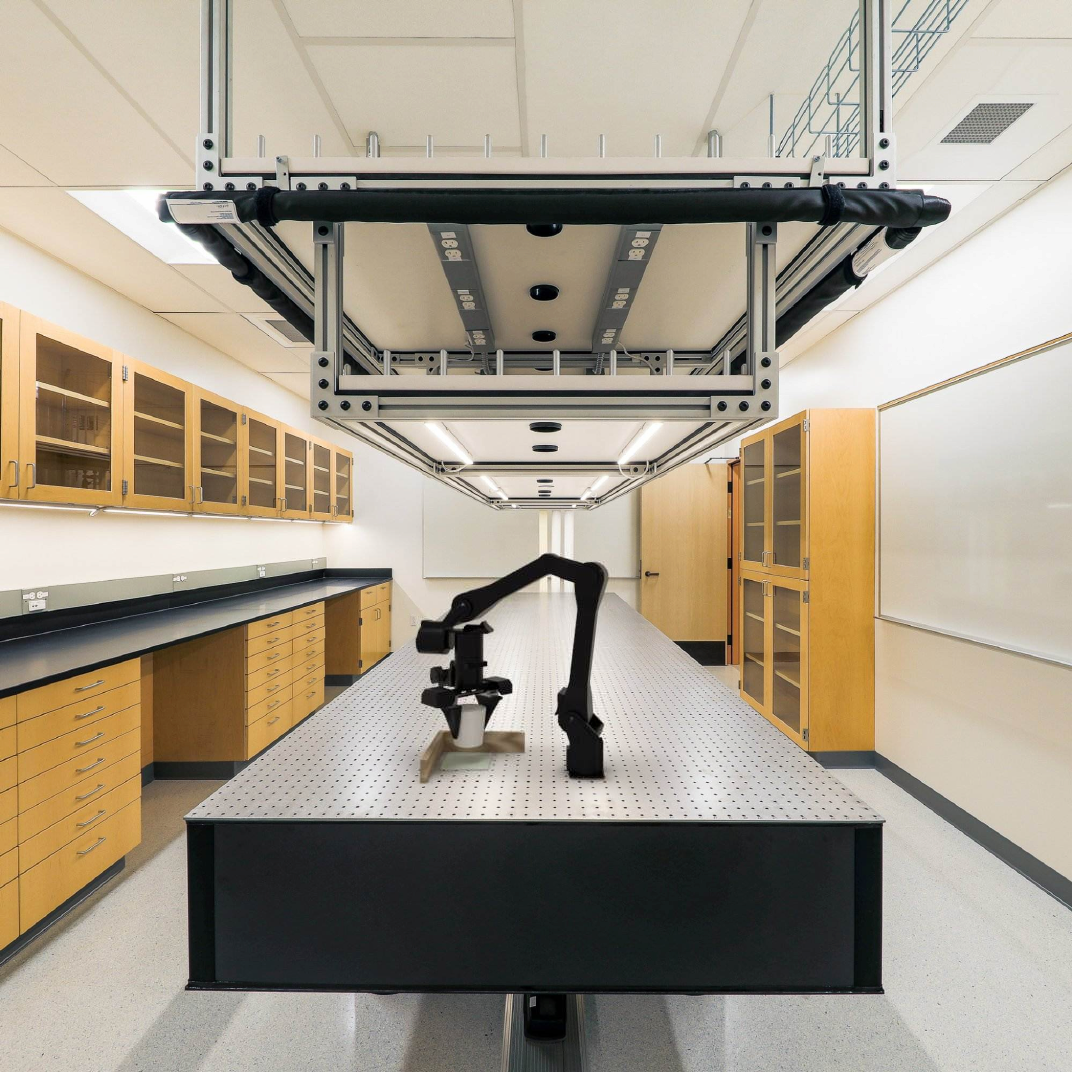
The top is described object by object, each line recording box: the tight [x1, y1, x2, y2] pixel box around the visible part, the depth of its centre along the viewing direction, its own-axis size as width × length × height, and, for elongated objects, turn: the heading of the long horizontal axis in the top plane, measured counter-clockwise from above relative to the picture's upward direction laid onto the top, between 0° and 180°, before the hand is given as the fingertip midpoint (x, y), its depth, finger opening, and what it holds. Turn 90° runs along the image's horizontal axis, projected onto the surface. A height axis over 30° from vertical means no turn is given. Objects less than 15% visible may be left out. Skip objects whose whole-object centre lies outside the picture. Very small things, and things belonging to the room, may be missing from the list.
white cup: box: [454, 703, 486, 748], centre depth 117 cm, size 7×7×7 cm
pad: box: [440, 752, 494, 772], centre depth 117 cm, size 9×9×1 cm
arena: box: [419, 729, 526, 784], centre depth 115 cm, size 18×18×4 cm
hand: (468, 735), depth 117 cm, fingers closed on white cup, 6 cm apart
